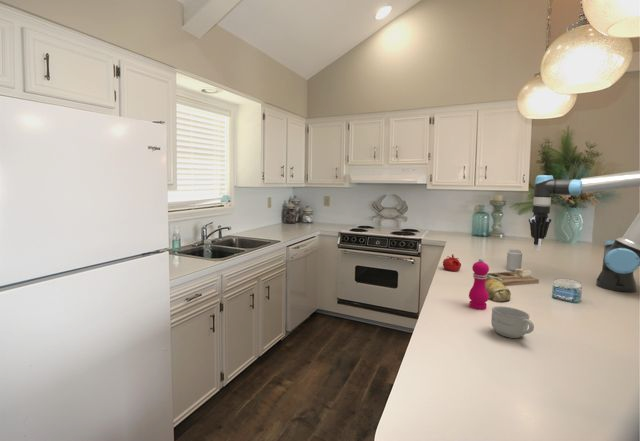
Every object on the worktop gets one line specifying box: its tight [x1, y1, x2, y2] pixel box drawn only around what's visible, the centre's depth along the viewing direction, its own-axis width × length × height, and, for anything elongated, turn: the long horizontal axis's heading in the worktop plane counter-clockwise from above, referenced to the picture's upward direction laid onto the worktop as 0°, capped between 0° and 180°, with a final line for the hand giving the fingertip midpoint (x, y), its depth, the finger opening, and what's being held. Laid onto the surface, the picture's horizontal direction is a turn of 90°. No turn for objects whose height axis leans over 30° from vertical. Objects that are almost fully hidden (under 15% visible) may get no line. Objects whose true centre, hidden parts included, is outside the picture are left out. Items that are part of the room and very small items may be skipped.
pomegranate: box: [442, 254, 462, 272], centre depth 197 cm, size 10×10×9 cm
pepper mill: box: [468, 257, 490, 311], centre depth 136 cm, size 7×7×20 cm
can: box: [506, 249, 523, 272], centre depth 200 cm, size 8×8×12 cm
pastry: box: [485, 279, 512, 303], centre depth 150 cm, size 14×12×8 cm
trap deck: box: [485, 271, 540, 287], centre depth 178 cm, size 16×25×4 cm, turn 107°
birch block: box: [514, 268, 532, 279], centre depth 176 cm, size 5×5×4 cm
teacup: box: [490, 305, 535, 339], centre depth 110 cm, size 14×11×8 cm
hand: (537, 250), depth 178 cm, fingers closed
